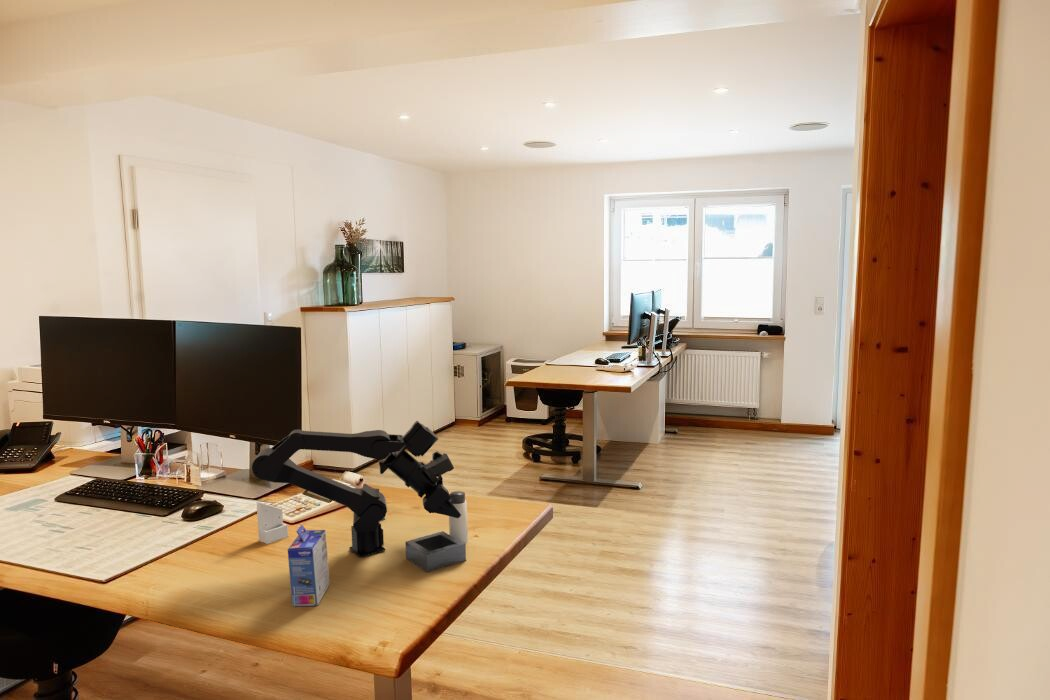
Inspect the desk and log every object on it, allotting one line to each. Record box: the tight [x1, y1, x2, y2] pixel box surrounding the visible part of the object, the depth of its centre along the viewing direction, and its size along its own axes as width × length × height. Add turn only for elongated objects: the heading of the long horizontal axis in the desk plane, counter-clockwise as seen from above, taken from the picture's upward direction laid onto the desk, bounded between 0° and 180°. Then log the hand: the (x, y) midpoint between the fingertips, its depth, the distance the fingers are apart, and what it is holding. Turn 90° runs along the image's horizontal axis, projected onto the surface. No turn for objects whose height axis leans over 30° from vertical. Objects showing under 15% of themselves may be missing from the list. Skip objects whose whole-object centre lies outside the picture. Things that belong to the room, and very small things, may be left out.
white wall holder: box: [256, 501, 289, 545], centre depth 171 cm, size 4×10×9 cm, turn 143°
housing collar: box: [405, 530, 467, 573], centre depth 158 cm, size 10×10×4 cm
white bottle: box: [448, 490, 468, 544], centre depth 168 cm, size 4×4×12 cm
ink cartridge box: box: [287, 524, 330, 607], centre depth 141 cm, size 10×6×14 cm, turn 2°
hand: (457, 510), depth 168 cm, fingers open, 9 cm apart
